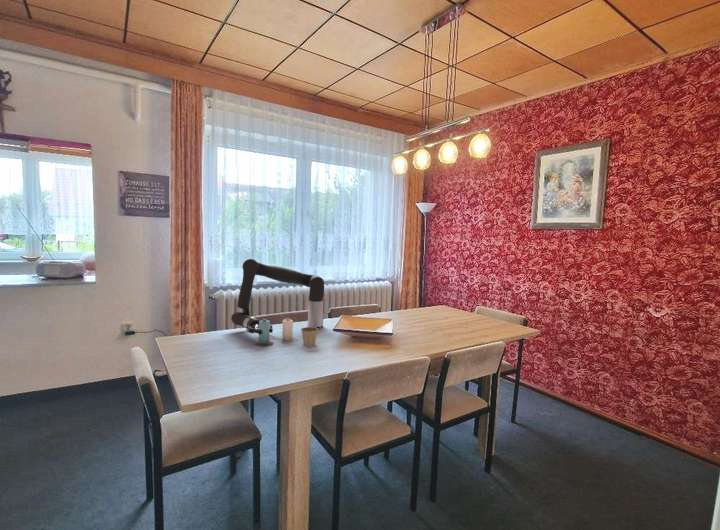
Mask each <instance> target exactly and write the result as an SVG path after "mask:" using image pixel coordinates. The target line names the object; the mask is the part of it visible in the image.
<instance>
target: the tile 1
mask: <svg viewBox="0 0 720 530" xmlns="http://www.w3.org/2000/svg"><path fill="white" fill-rule="evenodd" d="M254 338H255V339H257V340H258V341H259V336H254ZM277 338H278V337H276V336H274V335H272V334H270V338H269V341H274V340H276V339H277Z"/></svg>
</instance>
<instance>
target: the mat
mask: <svg viewBox="0 0 720 530" xmlns="http://www.w3.org/2000/svg"><path fill="white" fill-rule="evenodd" d="M274 344H275V343H274V342H272V340H270V341H269V342H268V343H259V341H256V342H255V343H254V344H253V345H254V346H255V347H259V348H267V347H271V346H274Z"/></svg>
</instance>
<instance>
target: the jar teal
mask: <svg viewBox="0 0 720 530" xmlns="http://www.w3.org/2000/svg"><path fill="white" fill-rule="evenodd" d="M270 324H271V320H268V319H266V318H263V319H260V321H259V329H260V330H262V334H261V335H260V334H258V337H259V340H258V342H259V343H268V342H269V338H270V335H271V333H270Z"/></svg>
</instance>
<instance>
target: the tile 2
mask: <svg viewBox="0 0 720 530" xmlns="http://www.w3.org/2000/svg"><path fill="white" fill-rule="evenodd" d="M276 338H277V339H275V340H276V341H278V342H279V343H282V344H289V343H294V342H299V341H300V340H299V339H297V338H295V337H293V336H292V340H291V341H283V340H282V337H276Z"/></svg>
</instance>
